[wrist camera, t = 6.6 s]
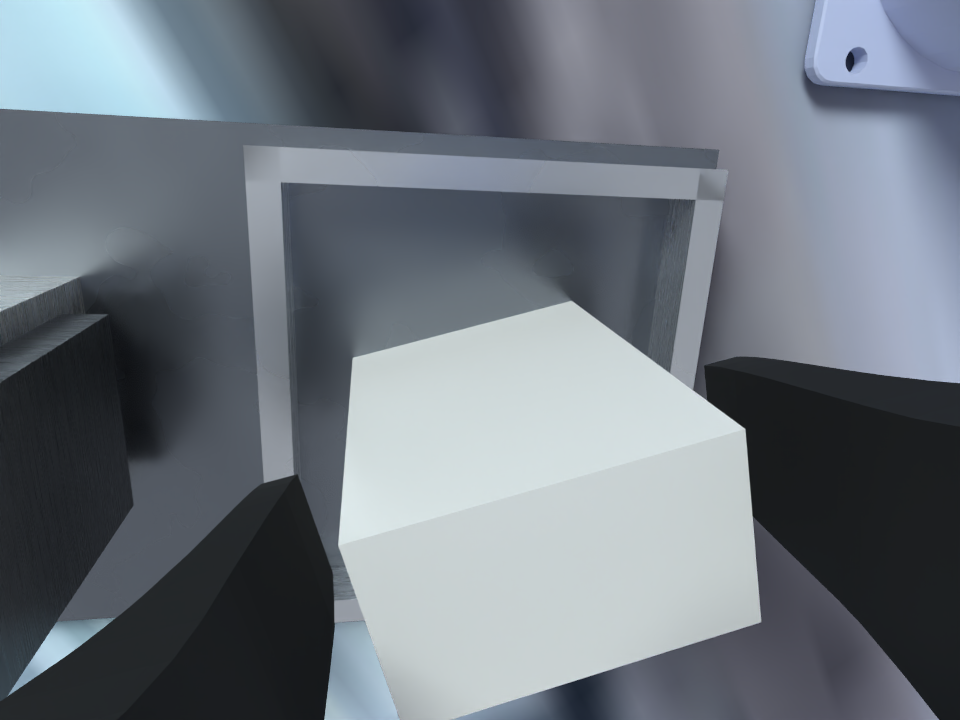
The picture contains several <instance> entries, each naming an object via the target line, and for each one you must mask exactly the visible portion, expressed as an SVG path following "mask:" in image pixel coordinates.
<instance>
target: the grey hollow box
mask: <svg viewBox="0 0 960 720" xmlns="http://www.w3.org/2000/svg"><path fill="white" fill-rule="evenodd" d="M718 154H719V150H712V149H694V148H677V147H659V146H642V145H624V144H606V143H589V142H571V141H554V140H536V139H519V138H501V137H484V136H466V135H449V134H431V133H414V132H396V131H378V130H361V129H343V128H326V127H308V126H291V125H273V124H256V123H238V122H221V121H203V120H185V119H168V118H150V117H133V116H115V115H98V114H80V113H63V112H45V111H28V110H10V109H0V701H2V700H3V699H5V698H6V697H7V696H8V694H9V693H10V691H11V690H12V688H13V687H14V685H15V684H16V682H17V681H18V679H19V678H20V676H21V674H22V673H23V671H24V670H25V668H26V667H27V665H28V664H29V662H30V661H31V659H32V658H33V656H34V655H35V653H36V652H37V650H38V649H39V647H40V646H41V644H42V643H43V641H44V640H45V638H46V637H47V635H48V634H49V632H50V631H51V629H52V628H53V626H54V625H55V623H56V622H57V621H69V620H84V619H98V618H113V617H118V616H119V615H120V614H122V613H123V612H124V611H125V610H126V609H128V608H129V607H130V606H131V605H132V604H134V603H135V602H136V601H137V600H138V599H139V598H141V597H142V596H143V595H144V594H145V593H146V592H147V591H148V590H150V589H151V588H152V587H153V586H154V585H155V584H156V583H157V582H158V581H159V580H160V579H161V578H163V577H164V576H165V575H166V574H167V573H168V572H169V571H170V570H171V569H172V568H173V567H174V566H176V565H177V564H178V563H179V562H180V561H181V560H182V559H183V558H184V557H185V556H186V555H188V554H189V553H190V552H191V551H192V550H193V549H194V548H195V547H196V546H197V545H198V544H199V543H200V542H201V541H202V540H203V539H204V538H205V537H206V536H207V535H208V534H209V533H210V532H211V531H212V530H213V529H214V528H215V527H216V526H217V525H218V524H219V523H220V522H221V521H222V520H223V519H224V518H225V517H226V516H227V515H228V514H229V513H230V512H231V511H232V510H233V509H234V508H235V507H236V506H237V505H238V504H239V503H240V502H241V501H242V500H243V499H244V498H245V497H246V496H247V495H248V494H249V493H250V492H251V491H253V490H254V489H255V488H256V487H258V486H259V485H260V484H262V483H266V482H270V481H273V480H277V479H281V478H285V477H288V476H292V475H296V474H298V476H299V479H300V482H301V485H302V488H303V490H304V493H305V496H306V499H307V502H308V505H309V507H310V510H311V513H312V516H313V519H314V521H315V524H316V527H317V530H318V533H319V535H320V538H321V541H322V544H323V547H324V549H325V552H326V555H327V558H328V561H329V563H330V566H331V569H332V572H333V583H334V623H339V622H352V621H365V620H364V617H363V614H362V611H361V608H360V606H359V603H358V600H357V597H356V594H355V591H354V589H353V586H352V583H351V580H350V577H349V575H348V572H347V569H346V566H345V563H344V560H343V558H342V555H341V552H340V549H339V546H338V542H339V529H340V516H341V503H342V490H343V477H344V464H345V451H346V438H347V425H348V412H349V399H350V386H351V373H352V360H353V358H354V357H358V356H362V355H366V354H370V353H374V352H377V351H381V350H385V349H389V348H393V347H397V346H400V345H404V344H408V343H412V342H416V341H420V340H423V339H427V338H431V337H435V336H439V335H442V334H446V333H450V332H454V331H458V330H462V329H465V328H469V327H473V326H477V325H481V324H485V323H488V322H492V321H496V320H500V319H504V318H508V317H511V316H515V315H519V314H523V313H527V312H530V311H534V310H538V309H542V308H546V307H550V306H553V305H557V304H561V303H565V302H569V301H573V302H574V303H575V304H577V305H578V306H579V307H581V308H582V309H583V310H585V311H586V312H588V313H589V314H590V315H592V316H593V317H594V318H596V319H597V320H598V321H600V322H601V323H602V324H604V325H605V326H606V327H608V328H609V329H611V330H612V331H613V332H615V333H616V334H617V335H619V336H620V337H621V338H623V339H624V340H625V341H627V342H628V343H629V344H631V345H632V346H634V347H635V348H636V349H638V350H639V351H640V352H642V353H643V354H644V355H646V356H647V357H648V358H650V359H651V360H652V361H654V362H655V363H657V364H658V365H659V366H661V367H662V368H663V369H665V370H666V371H667V372H669V373H670V374H671V375H673V376H674V377H675V378H677V379H678V380H680V381H681V382H682V383H684V384H685V385H686V386H688V387H689V388H690V389H692V390H693V387H694V381H695V374H696V368H697V362H698V356H699V350H700V343H701V337H702V331H703V325H704V319H705V312H706V306H707V300H708V294H709V288H710V281H711V275H712V269H713V263H714V257H715V250H716V244H717V238H718V232H719V226H720V219H721V213H722V207H723V201H724V194H725V188H726V182H727V176H728V170H720V169H716V167H717V160H718Z"/></svg>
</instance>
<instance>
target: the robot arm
mask: <svg viewBox="0 0 960 720" xmlns="http://www.w3.org/2000/svg"><path fill="white" fill-rule="evenodd" d="M850 51H851V52H852V54H853V55H854V66H853V68H852V70H851V71H850V72H849V71H848V70H847V68H846V57H847V55H848V53H849V52H850ZM805 71H806V74H807V77H808V78H809V79H810V80H811V81H812V82H813V83H815V84H818V85H824V86H837V87H850V88H863V89H875V90H888V91H901V92H914V93H926V94H939V95H952V96H960V0H816V2H815V7H814V13H813V18H812V23H811V29H810V34H809V40H808V45H807V50H806V56H805ZM704 369H705V380H706V390H707V401H708V402H709V403H711V404H712V405H713V406H715V407H716V408H717V409H719V410H720V411H722V412H723V413H724V414H726V415H727V416H728V417H730V418H731V419H732V420H734V421H735V422H736V423H738V424H739V425H740V426H742V427H743V428H745V431H746V443H747V456H748V468H749V480H750V492H751V504H752V516H753V517H754V518H755V519H756V520H757V521H758V522H759V523H760V524H761V525H762V526H763V527H764V528H765V529H766V530H767V531H768V532H769V533H770V534H771V535H772V536H773V537H774V538H775V539H776V540H777V541H778V542H779V543H780V544H781V545H782V546H783V547H784V548H785V549H787V550H788V551H789V552H790V553H791V554H792V555H793V556H794V557H795V558H796V559H797V560H798V561H799V562H800V563H801V564H802V565H803V566H804V567H805V568H806V569H807V570H808V571H809V572H810V573H811V574H812V575H813V576H814V577H815V578H816V579H817V580H818V581H819V582H820V583H821V584H822V585H824V586H825V587H826V588H827V589H828V590H829V591H830V592H831V593H832V594H833V595H834V596H835V597H836V598H837V599H838V600H839V601H840V602H841V603H842V604H843V605H844V606H845V607H846V608H847V610H848V611H849V612H850V613H851V614H852V615H853V616H854V617H855V618H856V619H857V620H858V621H859V622H860V623H861V624H862V626H863V627H864V628H865V629H866V630H867V632H868V633H869V634H870V635H871V636H872V638H873V639H874V640H875V641H876V642H877V644H878V645H879V646H880V647H881V648H882V649H883V651H884V652H885V653H886V654H887V655H888V657H889V658H890V659H891V660H892V661H893V663H894V664H895V665H896V666H897V667H898V669H899V670H900V671H901V672H902V673H903V675H904V676H905V677H906V678H907V679H908V681H909V682H910V683H911V685H912V686H913V687H914V688H915V690H916V691H917V692H918V693H919V695H920V696H921V697H922V698H923V700H924V701H925V702H926V704H927V705H928V706H929V707H930V709H931V710H932V711H933V712H934V714H935V715H936V716H937V717H938V719H939V720H960V383H949V382H937V381H927V380H919V379H910V378H901V377H892V376H884V375H877V374H870V373H862V372H856V371H849V370H842V369H836V368H829V367H823V366H816V365H810V364H803V363H797V362H790V361H783V360H776V359H768V358H758V357H734V358H730V359H727V360H723V361H719V362H715V363H712V364H708V365H704ZM334 628H335V623H334V583H333V572H332V569H331V566H330V563H329V561H328V558H327V555H326V552H325V549H324V547H323V544H322V541H321V538H320V535H319V533H318V530H317V527H316V524H315V521H314V519H313V516H312V513H311V510H310V507H309V505H308V502H307V499H306V496H305V493H304V490H303V488H302V485H301V482H300V479H299V476H298V474H296V475H292V476H288V477H285V478H281V479H277V480H273V481H270V482H266V483H262V484H260V485H259V486H258V487H256V488H255V489H254V490H253V491H251V492H250V493H249V494H248V495H247V496H246V497H245V498H244V499H243V500H242V501H241V502H240V503H239V504H238V505H237V506H236V507H235V508H234V509H233V510H232V511H231V512H230V513H229V514H228V515H227V516H226V517H225V518H224V519H223V520H222V521H221V522H220V523H219V524H218V525H217V526H216V527H215V528H214V529H213V530H212V531H211V532H210V533H209V534H208V535H207V536H206V537H205V538H204V539H203V540H202V541H201V542H200V543H199V544H198V545H197V546H196V547H195V548H194V549H193V550H192V551H191V552H190V553H189V554H188V555H186V556H185V557H184V558H183V559H182V560H181V561H180V562H179V563H178V564H177V565H176V566H174V567H173V568H172V569H171V570H170V571H169V572H168V573H167V574H166V575H165V576H164V577H163V578H161V579H160V580H159V581H158V582H157V583H156V584H155V585H154V586H153V587H152V588H151V589H150V590H148V591H147V592H146V593H145V594H144V595H143V596H142V597H141V598H139V599H138V600H137V601H136V602H135V603H134V604H132V605H131V606H130V607H129V608H128V609H126V610H125V611H124V612H123V613H122V614H120V615H119V616H118V617H117V618H116V619H114V620H113V621H112V622H111V623H109V624H108V625H107V626H105V627H104V628H103V629H102V630H100V631H99V632H98V633H96V634H95V635H94V636H93V637H91V638H90V639H89V640H87V641H86V642H85V643H83V644H82V645H81V646H80V647H78V648H77V649H75V650H74V651H73V652H71V653H70V654H69V655H67V656H66V657H65V658H63V659H62V660H60V661H59V662H57V663H56V664H54V665H53V666H51V667H50V668H48V669H47V670H46V671H44V672H43V673H41V674H40V675H38V676H37V677H35V678H34V679H32V680H31V681H29V682H28V683H27V684H25V685H24V686H22V687H21V688H19V689H18V690H16V691H15V692H13V693H12V694H10V695H9V696H8V697H6V698H5V699H3V700H2V701H0V720H324V716H325V708H326V699H327V691H328V683H329V674H330V665H331V656H332V647H333V638H334Z"/></svg>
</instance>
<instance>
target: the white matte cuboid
mask: <svg viewBox="0 0 960 720" xmlns="http://www.w3.org/2000/svg"><path fill="white" fill-rule="evenodd" d="M338 546H339V549H340V552H341V555H342V558H343V560H344V563H345V566H346V569H347V572H348V575H349V577H350V580H351V583H352V586H353V589H354V591H355V594H356V597H357V600H358V603H359V606H360V608H361V611H362V614H363V617H364V620H365V622H366V625H367V628H368V631H369V634H370V637H371V639H372V642H373V645H374V648H375V651H376V654H377V656H378V659H379V662H380V665H381V668H382V670H383V673H384V676H385V679H386V682H387V685H388V687H389V690H390V693H391V696H392V699H393V701H394V704H395V707H396V710H397V713H398V716H399V718H400V720H452V719H455V718H458V717H461V716H465V715H468V714H471V713H474V712H477V711H480V710H484V709H487V708H490V707H493V706H496V705H500V704H503V703H506V702H509V701H512V700H515V699H519V698H522V697H525V696H528V695H531V694H535V693H538V692H541V691H544V690H547V689H550V688H554V687H557V686H560V685H563V684H566V683H570V682H573V681H576V680H579V679H582V678H585V677H589V676H592V675H595V674H598V673H601V672H604V671H608V670H611V669H614V668H617V667H620V666H624V665H627V664H630V663H633V662H636V661H639V660H643V659H646V658H649V657H652V656H655V655H659V654H662V653H665V652H668V651H671V650H674V649H678V648H681V647H684V646H687V645H690V644H694V643H697V642H700V641H703V640H706V639H709V638H713V637H716V636H719V635H722V634H725V633H728V632H732V631H735V630H738V629H741V628H744V627H748V626H751V625H754V624H757V623H760V622H761V613H760V601H759V589H758V577H757V565H756V552H755V540H754V528H753V516H752V504H751V492H750V480H749V468H748V456H747V443H746V431H745V428H743V427H742V426H740V425H739V424H738V423H736V422H735V421H734V420H732V419H731V418H730V417H728V416H727V415H726V414H724V413H723V412H722V411H720V410H719V409H717V408H716V407H715V406H713V405H712V404H711V403H709V402H708V401H707V400H705V399H704V398H703V397H701V396H700V395H699V394H697V393H696V392H694V391H693V390H692V389H690V388H689V387H688V386H686V385H685V384H684V383H682V382H681V381H680V380H678V379H677V378H675V377H674V376H673V375H671V374H670V373H669V372H667V371H666V370H665V369H663V368H662V367H661V366H659V365H658V364H657V363H655V362H654V361H652V360H651V359H650V358H648V357H647V356H646V355H644V354H643V353H642V352H640V351H639V350H638V349H636V348H635V347H634V346H632V345H631V344H629V343H628V342H627V341H625V340H624V339H623V338H621V337H620V336H619V335H617V334H616V333H615V332H613V331H612V330H611V329H609V328H608V327H606V326H605V325H604V324H602V323H601V322H600V321H598V320H597V319H596V318H594V317H593V316H592V315H590V314H589V313H588V312H586V311H585V310H583V309H582V308H581V307H579V306H578V305H577V304H575V303H574V302H573V301H569V302H565V303H561V304H557V305H553V306H550V307H546V308H542V309H538V310H534V311H530V312H527V313H523V314H519V315H515V316H511V317H508V318H504V319H500V320H496V321H492V322H488V323H485V324H481V325H477V326H473V327H469V328H465V329H462V330H458V331H454V332H450V333H446V334H442V335H439V336H435V337H431V338H427V339H423V340H420V341H416V342H412V343H408V344H404V345H400V346H397V347H393V348H389V349H385V350H381V351H377V352H374V353H370V354H366V355H362V356H358V357H354V358H353V360H352V373H351V386H350V399H349V412H348V425H347V438H346V451H345V464H344V477H343V490H342V503H341V516H340V529H339V542H338Z"/></svg>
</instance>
